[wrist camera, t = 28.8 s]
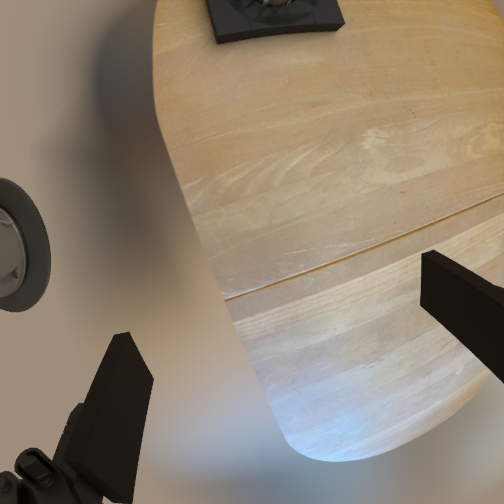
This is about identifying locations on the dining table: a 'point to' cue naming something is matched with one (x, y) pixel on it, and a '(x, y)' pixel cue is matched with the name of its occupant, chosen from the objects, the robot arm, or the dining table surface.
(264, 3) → the pill bottle
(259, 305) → the dining table surface
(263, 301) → the dining table surface
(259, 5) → the black rectangular holder
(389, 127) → the dining table surface
